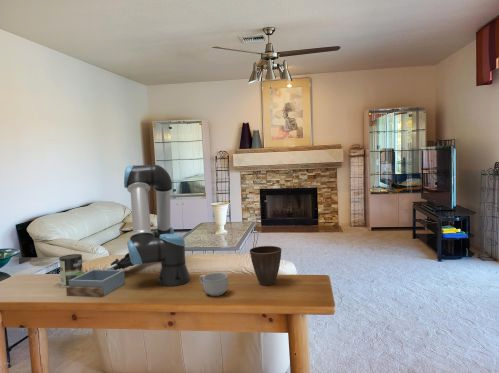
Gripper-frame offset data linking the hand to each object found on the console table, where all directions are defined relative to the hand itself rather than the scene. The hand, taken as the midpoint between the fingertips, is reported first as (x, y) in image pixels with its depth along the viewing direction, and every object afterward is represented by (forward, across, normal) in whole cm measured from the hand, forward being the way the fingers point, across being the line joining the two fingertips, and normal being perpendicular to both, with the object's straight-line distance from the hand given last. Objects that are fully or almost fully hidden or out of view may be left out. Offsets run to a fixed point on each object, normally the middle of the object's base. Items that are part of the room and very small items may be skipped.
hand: (108, 270), depth 184 cm
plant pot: (-8, -78, -6) cm, 79 cm away
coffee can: (+3, +19, -7) cm, 20 cm away
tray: (+9, 0, -6) cm, 11 cm away
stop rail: (+19, 0, -6) cm, 19 cm away
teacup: (+8, -57, -6) cm, 58 cm away
